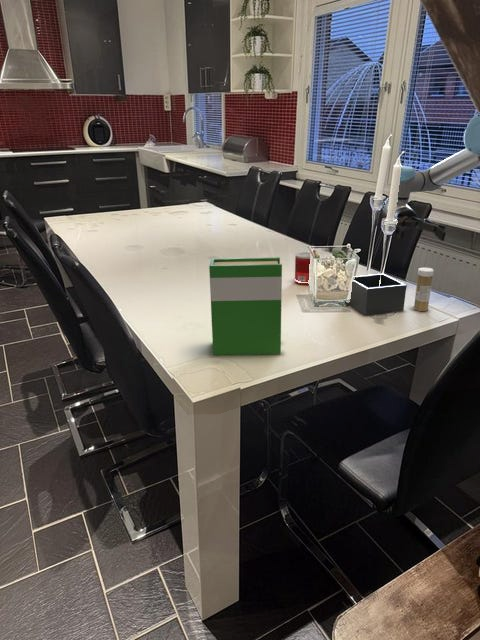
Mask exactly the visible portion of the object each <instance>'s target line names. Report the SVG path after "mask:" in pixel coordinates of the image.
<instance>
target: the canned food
mask: <svg viewBox="0 0 480 640" xmlns="http://www.w3.org/2000/svg"><path fill="white" fill-rule="evenodd" d="M310 253H311V252H305V251H304V252H298V253H296V254H295V256H294V257H295V259H294V282H295V284H297V285H299V286H300V285H301V286H309V285H308V283H298V282H296V281H295V279H296V280H298V281H301V282H308V280H309V264H310Z"/></svg>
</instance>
